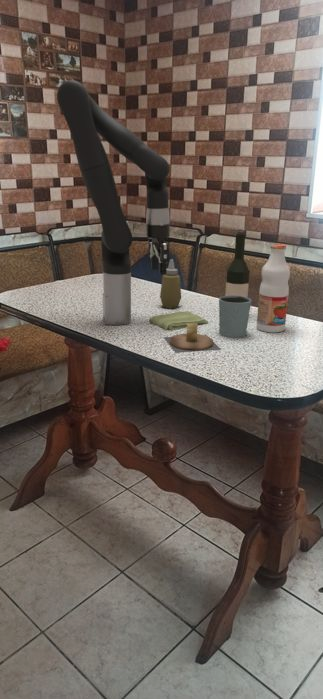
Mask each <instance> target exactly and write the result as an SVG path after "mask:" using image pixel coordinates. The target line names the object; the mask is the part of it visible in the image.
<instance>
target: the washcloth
mask: <svg viewBox="0 0 323 699" xmlns="http://www.w3.org/2000/svg"><path fill="white" fill-rule="evenodd" d="M148 323H149V324H151V325H154V326H158V327H160V328H161V329H163V330H165V331H175V330H176V331H177V330H181V329H187V323H197V324H198V326H199V325H208V324H209V321H208V320H207V319H205V318H203V317H201V316H200V315H198V314H194V313H192V311H187V310H186V311H184V310H183V311H174V312H171V313H169V312H168V313H165V314H158V315H157V314H156V315H153V316H151V317H149V319H148Z"/></svg>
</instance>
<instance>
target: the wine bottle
mask: <svg viewBox="0 0 323 699" xmlns="http://www.w3.org/2000/svg"><path fill="white" fill-rule="evenodd" d="M236 232H237V233H235V241H234V243H235V244H234V256H233V259H232V260H231V262H230V264H229V265H228V267H227V268H226V278H225V280H226V281H225V294H224V296H243V297H247V298H249V297H248V295H249V283H250V268H249V267H248V264H247V262H246V261H245V260H246V259H245V247H246V245H245V244H246V233H245V231H244V230H239V231H238V230H237V231H236Z"/></svg>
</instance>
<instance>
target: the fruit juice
mask: <svg viewBox="0 0 323 699" xmlns="http://www.w3.org/2000/svg"><path fill="white" fill-rule="evenodd" d="M269 248H270V253H269V257H268V260H267V261H266V263H265V264H264V265H263V266H262V268H261V271H260V272H261V279H262V280H261V283H260V285H259V290H258V304H257V314H256V315H257V316H256V328H257V330H258V331H262V332H265V333H272V334H273V333H281V332H283V331H284V330H285V328H286V318H287V310H288V303H289V302H288V300H289V294H290V287H289V283H288V282H289V279H290V276H291V269H290V266H289V265H288V263H287V261H286V255H285V251H286V249H287V245H286V244H283V243H271V244H270V247H269Z"/></svg>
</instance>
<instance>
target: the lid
mask: <svg viewBox="0 0 323 699" xmlns="http://www.w3.org/2000/svg"><path fill="white" fill-rule="evenodd" d="M198 326H199V325H198V324H197V323H187V327H186V333H179V334H175V335H173V336H170V337H171V338H170V344H171V345H172V346H173V347H175V348H178V349H182V350H192V351H195V352H197V351H196V350H205V349H208V348H211V347H212V346H213V342H214V339H213V338H212V337H210V336H208V335H207V336H205V335H206V334H200V333H198Z"/></svg>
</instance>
